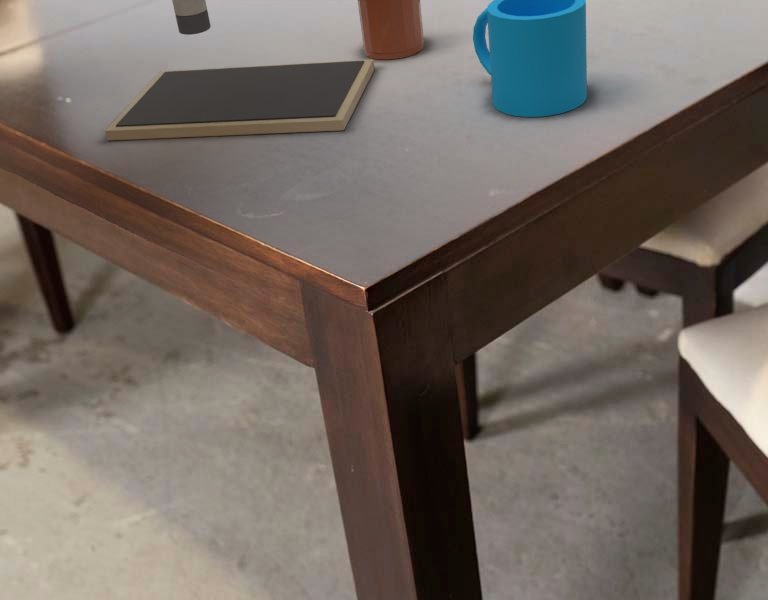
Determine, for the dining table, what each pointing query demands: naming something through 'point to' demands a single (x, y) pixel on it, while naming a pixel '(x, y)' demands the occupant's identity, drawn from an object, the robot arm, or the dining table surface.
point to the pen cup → (391, 28)
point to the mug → (534, 55)
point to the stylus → (191, 16)
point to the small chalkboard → (245, 101)
